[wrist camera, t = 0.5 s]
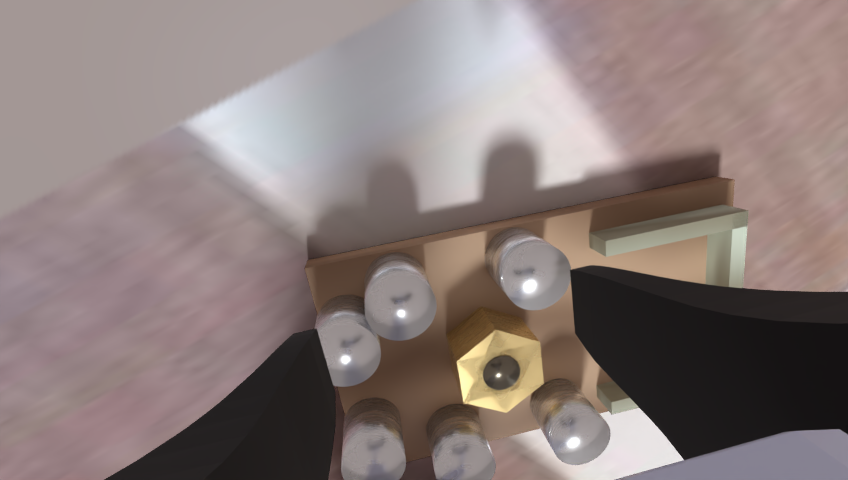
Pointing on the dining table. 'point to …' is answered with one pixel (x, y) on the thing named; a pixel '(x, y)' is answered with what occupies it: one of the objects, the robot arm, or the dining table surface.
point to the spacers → (455, 423)
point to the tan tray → (553, 326)
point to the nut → (495, 359)
